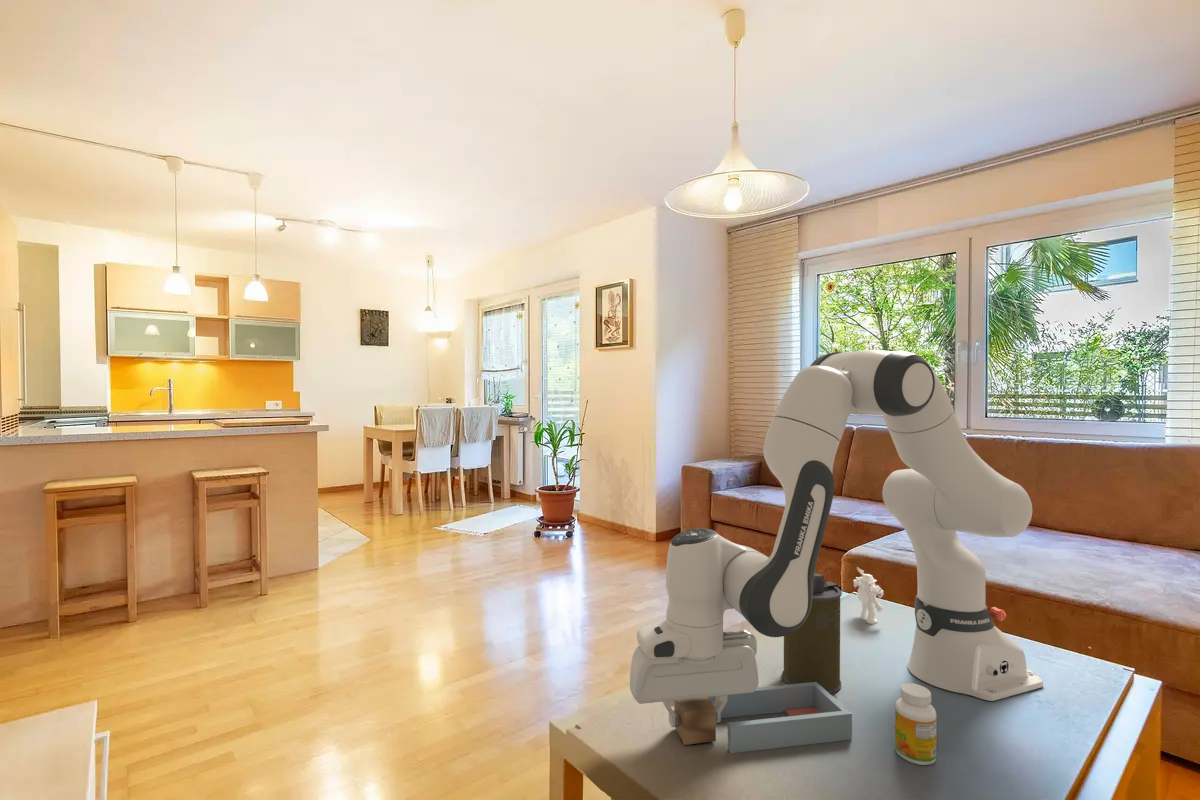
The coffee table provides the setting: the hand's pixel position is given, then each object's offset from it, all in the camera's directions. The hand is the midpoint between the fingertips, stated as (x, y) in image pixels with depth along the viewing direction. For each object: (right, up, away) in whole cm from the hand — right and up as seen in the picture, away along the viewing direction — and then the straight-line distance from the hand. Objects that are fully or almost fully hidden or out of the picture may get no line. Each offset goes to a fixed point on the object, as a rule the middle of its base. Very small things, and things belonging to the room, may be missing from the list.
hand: (694, 722), depth 89 cm
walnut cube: (0, -2, 0) cm, 2 cm away
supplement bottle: (+32, -2, -4) cm, 33 cm away
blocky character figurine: (+49, -2, +46) cm, 68 cm away
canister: (+25, -2, +18) cm, 31 cm away
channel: (+14, -2, +2) cm, 14 cm away
